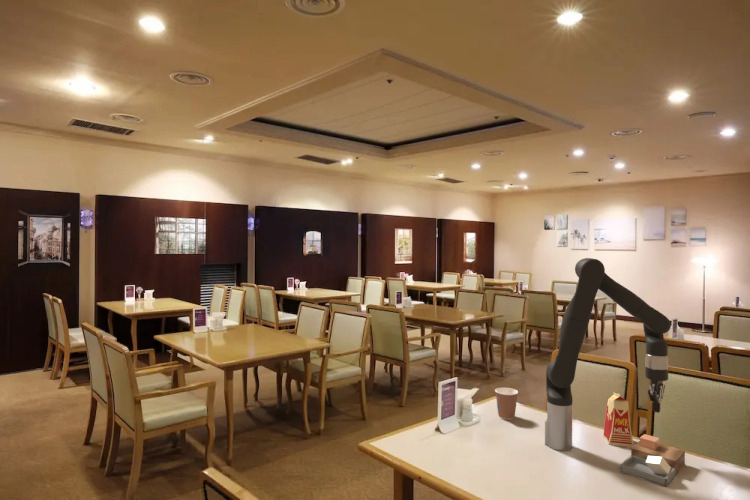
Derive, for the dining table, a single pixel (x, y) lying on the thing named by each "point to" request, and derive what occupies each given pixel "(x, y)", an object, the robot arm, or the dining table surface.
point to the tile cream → (658, 465)
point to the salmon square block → (649, 442)
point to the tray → (645, 471)
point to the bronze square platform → (662, 454)
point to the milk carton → (617, 422)
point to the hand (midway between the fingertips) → (656, 411)
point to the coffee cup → (506, 402)
